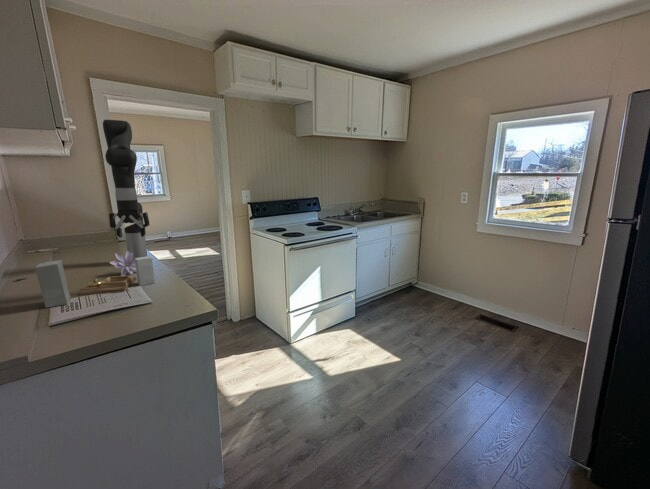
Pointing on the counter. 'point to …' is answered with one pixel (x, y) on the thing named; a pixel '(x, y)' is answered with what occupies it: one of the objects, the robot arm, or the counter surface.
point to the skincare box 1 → (53, 283)
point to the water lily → (124, 263)
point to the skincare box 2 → (144, 270)
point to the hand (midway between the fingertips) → (131, 236)
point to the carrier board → (110, 285)
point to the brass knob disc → (94, 283)
